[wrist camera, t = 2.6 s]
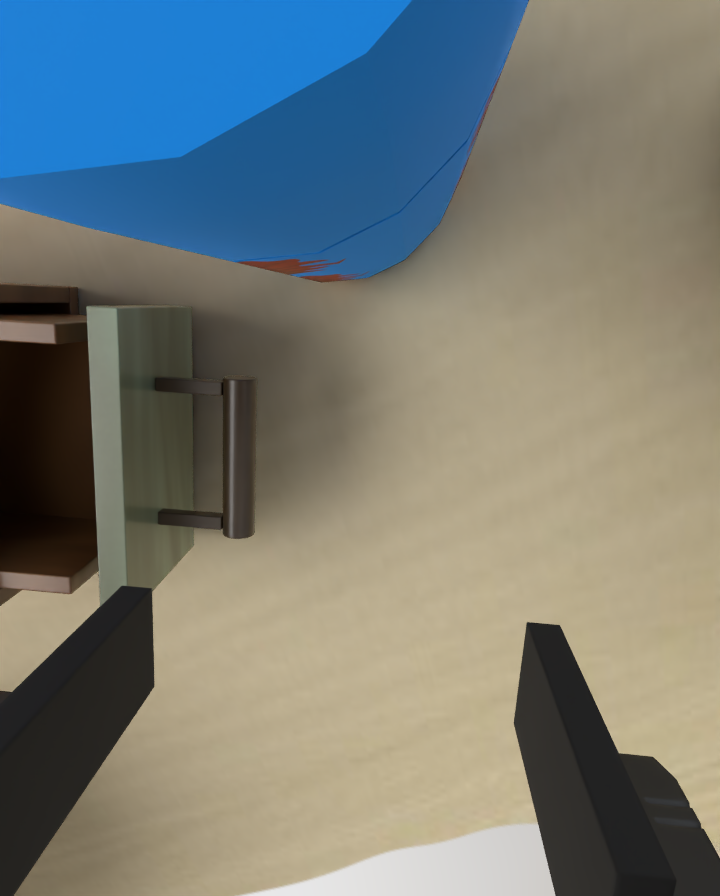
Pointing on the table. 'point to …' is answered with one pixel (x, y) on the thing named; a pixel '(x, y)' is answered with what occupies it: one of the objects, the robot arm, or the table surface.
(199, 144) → the thermos
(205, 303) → the table surface
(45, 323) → the drawer
